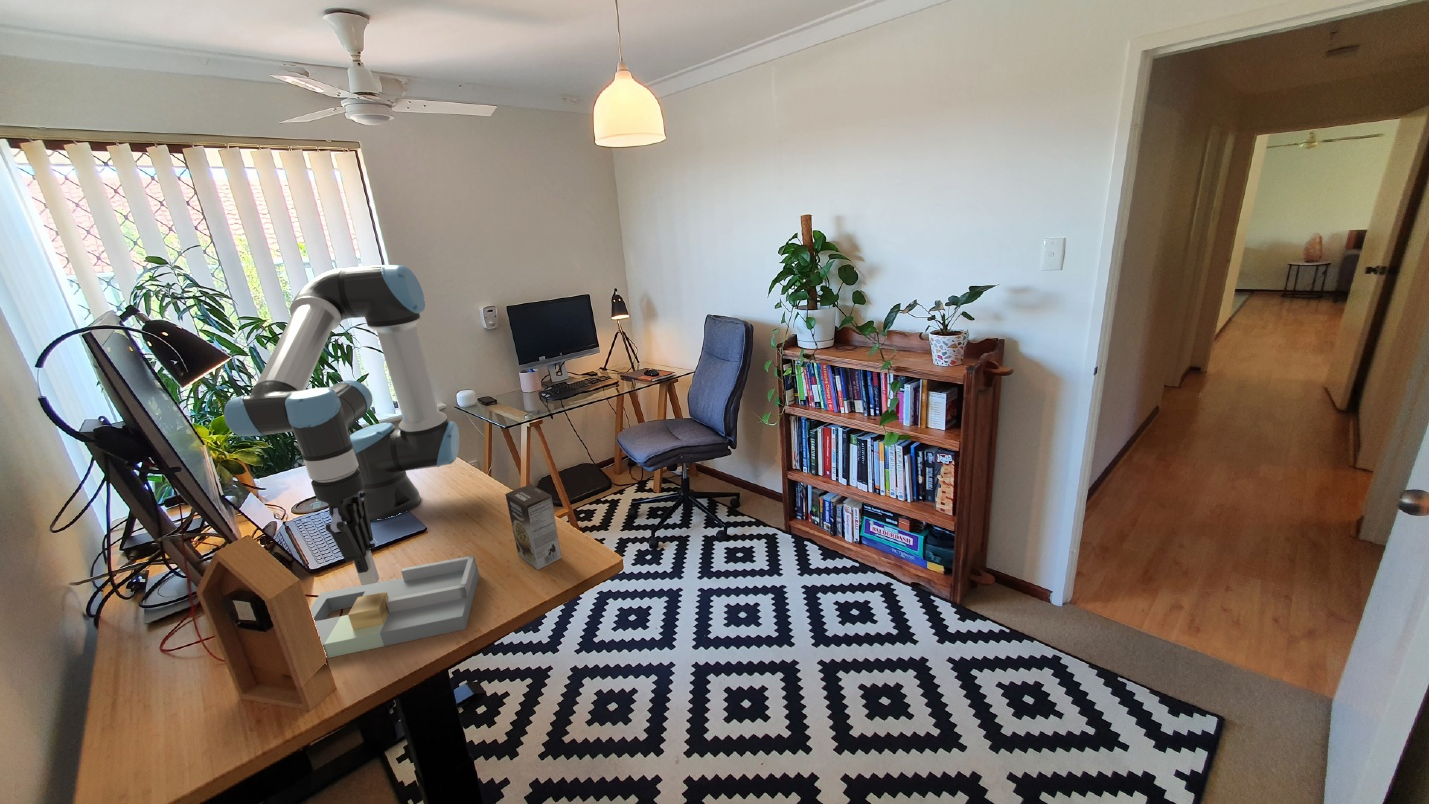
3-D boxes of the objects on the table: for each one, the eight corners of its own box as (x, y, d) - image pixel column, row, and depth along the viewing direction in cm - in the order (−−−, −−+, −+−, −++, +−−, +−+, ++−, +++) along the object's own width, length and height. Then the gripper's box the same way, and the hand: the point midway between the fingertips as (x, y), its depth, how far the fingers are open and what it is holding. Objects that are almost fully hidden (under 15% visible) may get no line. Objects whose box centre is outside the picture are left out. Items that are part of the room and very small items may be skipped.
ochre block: (362, 612, 104) (357, 597, 103) (391, 606, 105) (386, 591, 104) (353, 630, 99) (347, 614, 98) (383, 624, 100) (378, 608, 99)
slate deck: (325, 605, 111) (317, 582, 110) (479, 575, 118) (474, 554, 116) (284, 667, 96) (274, 642, 94) (465, 629, 102) (459, 605, 100)
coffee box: (516, 556, 124) (503, 493, 119) (541, 543, 128) (530, 482, 123) (537, 571, 118) (524, 506, 113) (563, 557, 122) (551, 494, 117)
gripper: (326, 461, 103) (361, 565, 111) (294, 494, 91) (335, 608, 99) (370, 455, 104) (401, 558, 112) (344, 486, 93) (381, 599, 100)
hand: (370, 581), depth 106 cm, fingers closed
